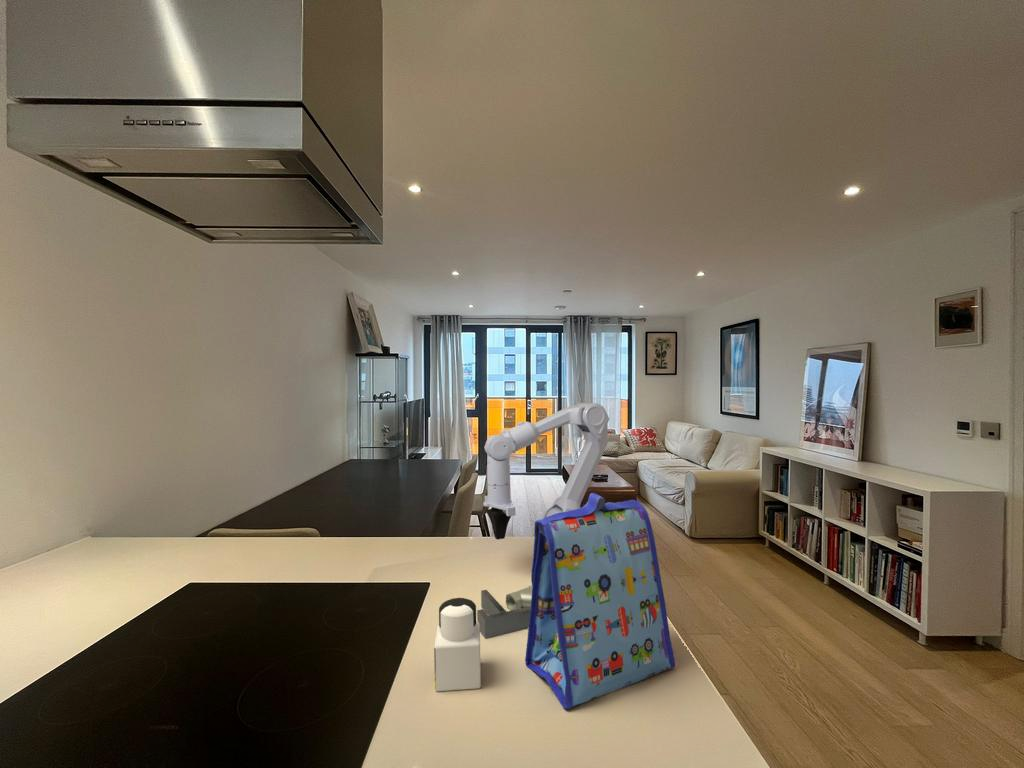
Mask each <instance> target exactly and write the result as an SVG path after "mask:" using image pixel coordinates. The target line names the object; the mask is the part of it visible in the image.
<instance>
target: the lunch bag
mask: <svg viewBox="0 0 1024 768" xmlns="http://www.w3.org/2000/svg"><path fill="white" fill-rule="evenodd" d="M533 533H534V534H533V535H534V540H533V541H534V543H533V556H532V567H531V575H530V576H531V585H532V586H533V587H532V598H531V608H530V618H529V627H528V628H527V640H526V649H525V659H524V662H525V663H524V664H525V666H526V668H528V669H529V670H530V671H531V672H534V673H536V674H537V675H538V676H540V677H541V678H542V679H545V680H546V682H547V684H548V685H549V687H550V689H551V690H552V692H553V693H554V695H555V696H556V698H557V699H558V701H559V702H560V705H561V707H562V708H563V710H564V709H565V710H568V709H571V708H574V707H575V706H578V705H581V704H584V703H586V702H590V701H592V700H594V699H597V698H598V697H599V698H600V697H601V696H604V695H607V694H610V693H612V692H614V691H617V690H619V689H622V688H625V687H628V686H630V685H632V684H635V683H637V682H640V681H643V680H645V679H648V678H650V677H652V676H655V675H657V674H660V673H662V672H665V671H668V670H669V669H674V668H675V667H676V659H675V655H674V649H673V644H672V641H671V640H672V639H671V634H670V628H669V627H670V626H669V622H668V613H667V612H668V611H667V606H666V600H665V595H664V588H663V583H662V578H661V571H660V570H661V569H660V565H659V559H658V553H657V545H656V541H655V536H654V535H655V534H654V532H653V528H652V523H651V520H650V516H649V513H648V511H647V509H646V507H645V506H644V505H643V504H642V503H641V502H639V501H637V500H635V499H630V500H623V501H617V502H611V501H610V502H609V501H608V502H606V500H605V498H604V497H602V496H601V495H599V494H597V493H595V492H591V493H590V494H589V496H588V500H587V502H586V504H584V505H583V506H582V507H580V508H579V509H575V510H571V511H566V512H561V513H556V514H553V515H551V516H548V517H545V518H541V519H538V520H535V521H534V532H533Z"/></svg>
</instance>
